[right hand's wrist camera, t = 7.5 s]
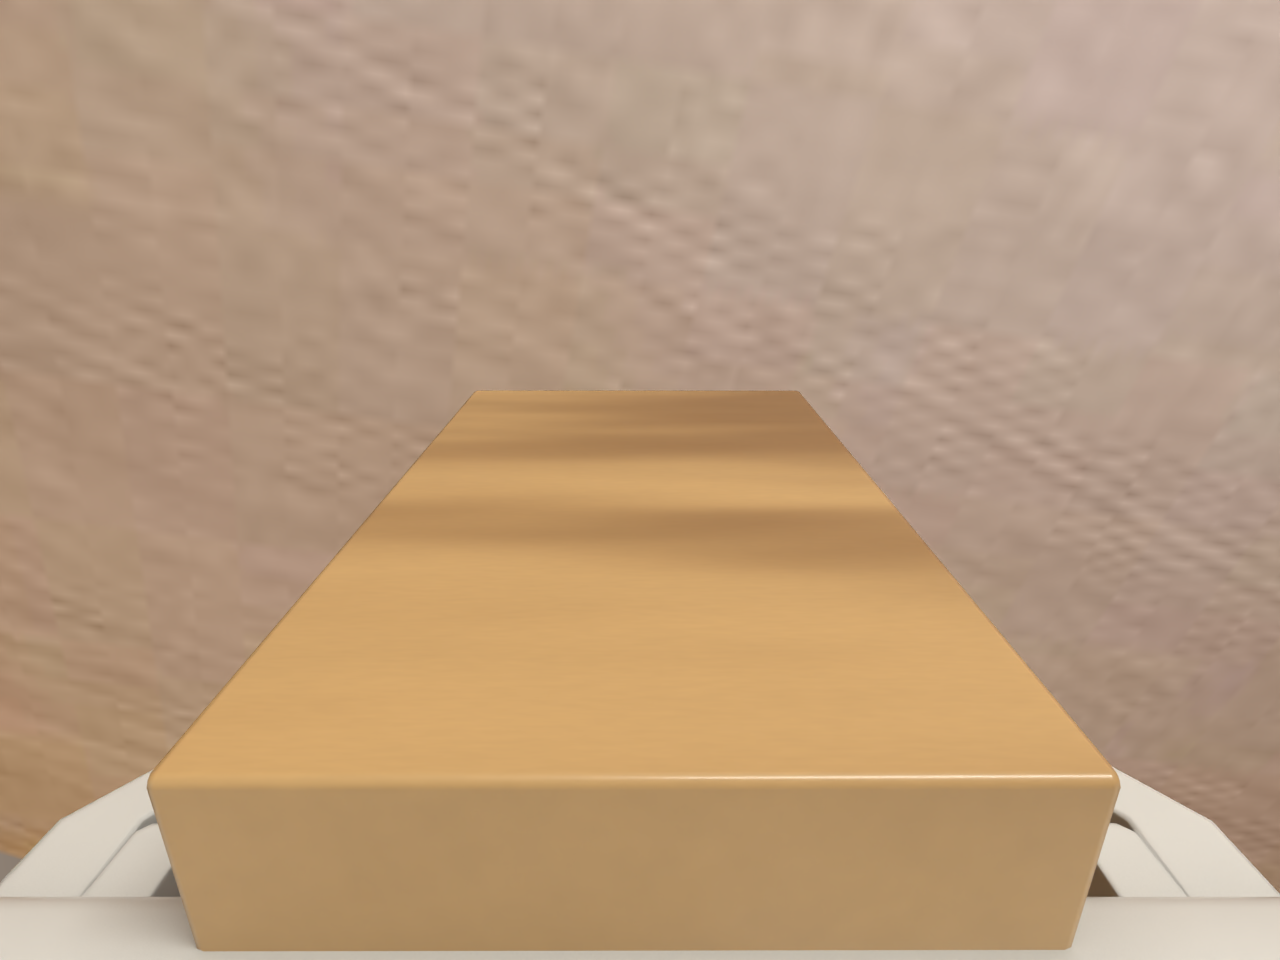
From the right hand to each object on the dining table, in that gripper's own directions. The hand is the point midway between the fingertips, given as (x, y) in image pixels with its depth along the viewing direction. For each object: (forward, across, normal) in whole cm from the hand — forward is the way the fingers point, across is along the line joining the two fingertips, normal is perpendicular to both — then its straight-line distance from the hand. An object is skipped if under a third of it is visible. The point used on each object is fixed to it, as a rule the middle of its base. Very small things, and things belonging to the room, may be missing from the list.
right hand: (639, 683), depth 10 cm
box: (+4, 0, -8) cm, 9 cm away
